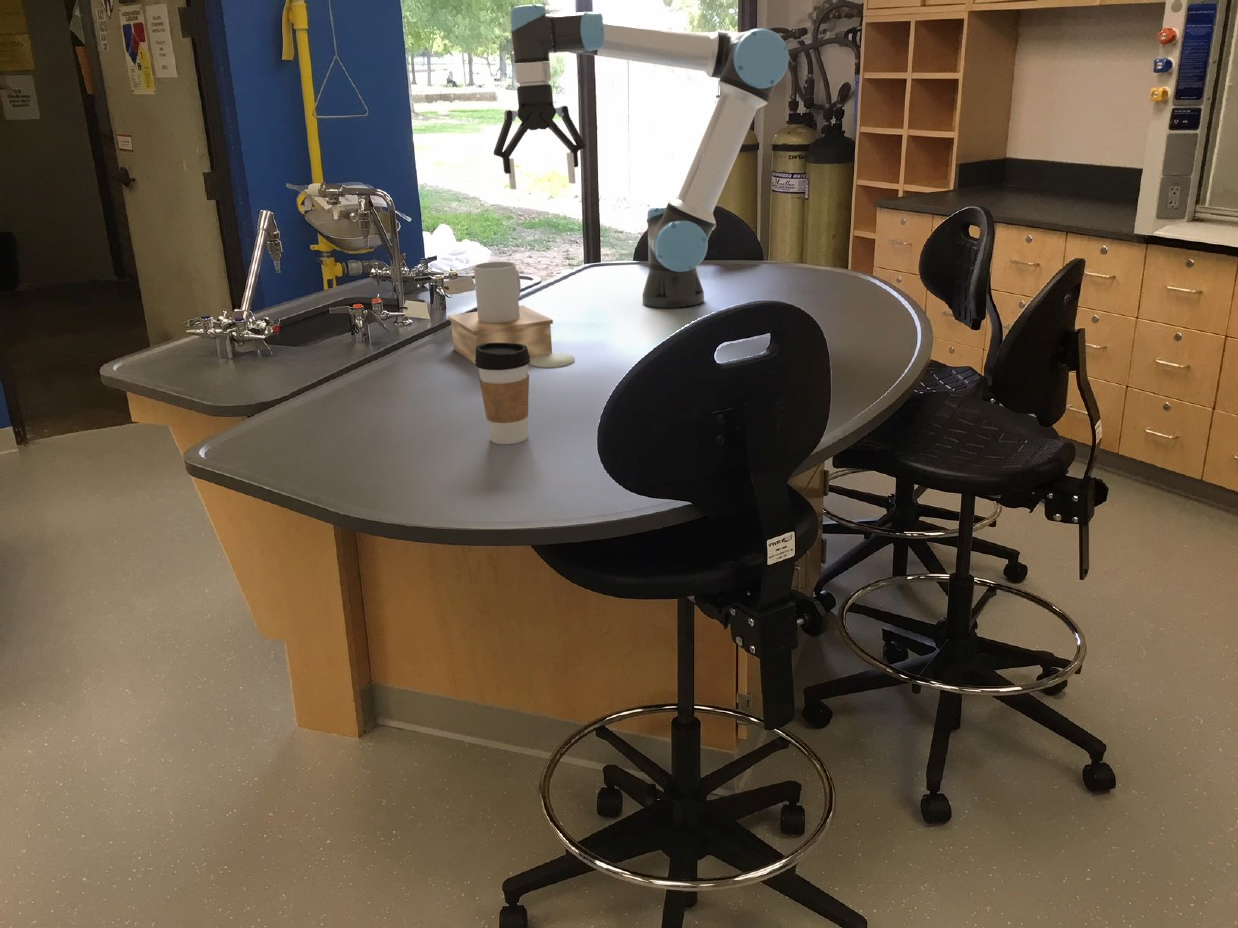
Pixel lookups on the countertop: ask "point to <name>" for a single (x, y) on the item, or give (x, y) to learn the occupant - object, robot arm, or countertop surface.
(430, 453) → the countertop surface
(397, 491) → the countertop surface
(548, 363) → the felt coaster
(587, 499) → the countertop surface
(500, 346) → the coffee cup
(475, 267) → the mug
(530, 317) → the maple box
